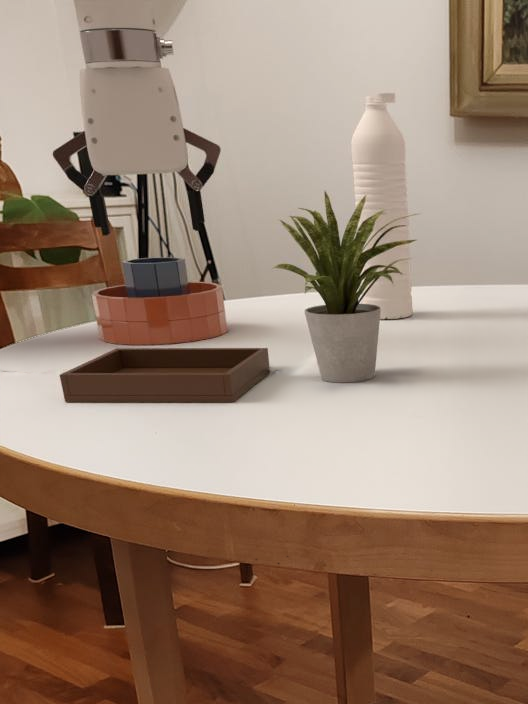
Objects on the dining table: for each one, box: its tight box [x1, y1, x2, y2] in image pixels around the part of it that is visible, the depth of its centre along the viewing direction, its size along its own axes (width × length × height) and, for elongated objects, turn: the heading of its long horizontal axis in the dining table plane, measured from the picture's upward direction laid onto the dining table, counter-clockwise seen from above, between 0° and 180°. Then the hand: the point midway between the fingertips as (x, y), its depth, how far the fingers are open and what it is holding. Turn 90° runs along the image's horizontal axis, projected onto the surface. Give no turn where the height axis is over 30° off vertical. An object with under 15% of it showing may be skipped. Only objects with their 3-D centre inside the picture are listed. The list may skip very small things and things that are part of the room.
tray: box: [59, 347, 271, 403], centre depth 91 cm, size 15×12×2 cm
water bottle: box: [350, 92, 414, 320], centre depth 120 cm, size 9×6×25 cm
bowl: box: [91, 280, 228, 346], centre depth 113 cm, size 14×14×6 cm
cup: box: [121, 256, 190, 298], centre depth 112 cm, size 6×6×8 cm
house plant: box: [272, 190, 422, 383], centre depth 89 cm, size 14×14×16 cm
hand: (152, 232), depth 109 cm, fingers open, 9 cm apart
